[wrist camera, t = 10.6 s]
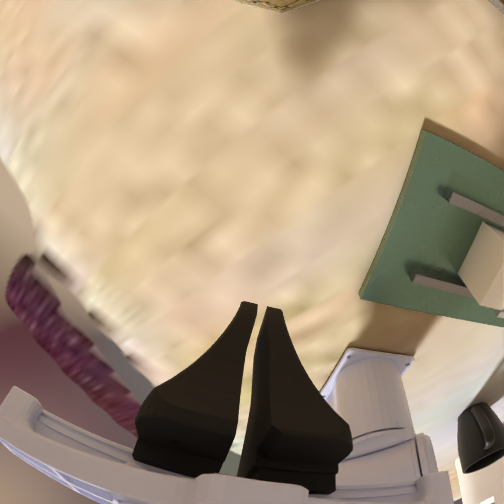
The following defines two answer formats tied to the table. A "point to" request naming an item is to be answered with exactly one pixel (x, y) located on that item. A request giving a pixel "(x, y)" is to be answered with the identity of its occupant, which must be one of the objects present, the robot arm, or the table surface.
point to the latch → (485, 267)
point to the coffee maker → (498, 4)
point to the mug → (479, 438)
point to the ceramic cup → (277, 4)
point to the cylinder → (482, 484)
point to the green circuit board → (437, 233)
